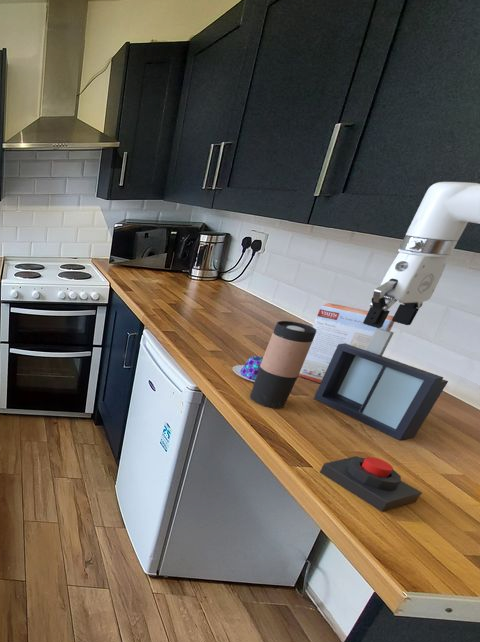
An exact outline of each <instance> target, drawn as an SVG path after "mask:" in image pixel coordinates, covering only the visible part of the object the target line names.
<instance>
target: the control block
mask: <svg viewBox="0 0 480 642" xmlns="http://www.w3.org/2000/svg"><path fill="white" fill-rule="evenodd" d="M365 458H366V457H361V456H357V455H355V456H351V457H346V458H342V459H338V460H333V461H329V462H325V463H323V464H322V467H321V469H320V470H319V474H321V475H323V476H324V477H326V478H328V479H329V480H331V481H332V482H333V483H334V484H337V485H338V486H339V487H342V488H343V489H344V490H346V491H347V492H350V493H351V494H353V495H354V496H356V497H357V498H359V499H360V500H362V501H364V502H365V503H366V504H369V505H370V506H372V507H373V508H375V509H376V510H378V511H380V512H381V513H383V512H386V511H389V510H393V509H396V508H400V507H403V506H406V505H410V504H413V503H416V502H417V501H418V500H419V498H420V496H421V495H422V494H423V492H422V491H421V490H419V489H418V488H415V487H413V486H412V485H410V484H409V483H406V482H404V481H403V480H402V477H401V475H400V474H399V472H397V471H396V470H394V469H393V470H392V472H391V473H390V475H389V477H387V478H385V477H379V476H377V475H374V474H371V473H370V472H368V471H366V470H364V469H363V468H362V467H361V465H362V464H363V462H364V460H365Z"/></svg>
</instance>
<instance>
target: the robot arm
mask: <svg viewBox="0 0 480 642" xmlns="http://www.w3.org/2000/svg"><path fill="white" fill-rule="evenodd" d="M468 223H473V224H480V183H478V182H467V181H465V182H464V181H439V182H435V183H433V184H432V185H430V186H429V187H428V189H427V190H426V192H425V194H424V196H423V198H422V200H421V202H420V204H419V206H418V208H417V211H416V212H415V214H414V216H413V219H412V220H411V223H410V225H409V227H408V228H407V231H406V233H405V236H404V237H403V239H402V241H401V243H400V245H399V248H398V250H397V251H398V254H397V255H396V256H395V259H394V260H393V261H392V263H391V265H390V266H389V268H388V270H387V271H386V273H385V275H384V277H383V279H382V281H381V282H380V285H379V286H378V287H376V288H375V289H374V290H373V296H372V298H371V303H370V305H369V310H367V311H368V313H367V316H366V318H365V320H364V322H363V323H364V324H366V325H369V326H372V327H376V328H381V327H382V326H383V324H384V322H385V320H386V318H387V316H388V315H389V314H390V312H391V311H390V310H389V309H390V308H391V307H392V306H393V305H394V304H396V302H398V303H400V304H399V305H398V307H397V309H396V311H395V313H394V315H393V316H394V317H393V319H392V321H394V323H397V324H400V325H405V326H410V325H412V323H413V321H414V320H415V318H416V316H417V314H418V312H419V311H420V309H421V308H422V306H423V304H424V303H423V302H427V301H429V300H430V299H431V298H432V296H433V294H434V292H435V290H436V288H437V286H438V284H439V281H440V280H441V277H442V275H443V272H444V270H445V268H446V264H447V262H448V258H450V256H451V254H452V253H453V251H454V249H455V247H456V246H457V243H458V242H459V240H460V238H461V236H462V235H463V232H464V231H465V229H466V227H467V225H468Z"/></svg>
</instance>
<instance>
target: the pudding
mask: <svg viewBox="0 0 480 642" xmlns="http://www.w3.org/2000/svg"><path fill="white" fill-rule="evenodd" d="M263 357H264V356H258V355H255V356H250V357H249V358H248V359H247V360H246V362H245V364H237V365H234V366H233V367H232V371H233V372H234V373H235V374H236V375H237V376H239V377H241V378H242V379H245V380H247V381H250V382H253V383H254V382H255V379H256V376H257V373H258V370H259V367H260V364H261V362H262V359H263Z"/></svg>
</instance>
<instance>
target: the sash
mask: <svg viewBox="0 0 480 642" xmlns="http://www.w3.org/2000/svg"><path fill="white" fill-rule="evenodd" d="M394 334H395V332H394V331H391V330H390V331H387V330H384V329H380V328H376V330H375V332H374V334H373V336H372V338H371V340H370V343H369V345H368V347H367V349H366V351H369V352H372V353H375V354H378V355H380V356H383V355H384V353H385V351H386V349H387V347H388V345H389V343H390V341H391V340H392V337H393V335H394ZM382 366H383V365H380V364H377V363H375V362H372V361H369V360H366V359H364V358H361V357H358V356H355V355H353V354H351V356H350V358H349V360H348V362H347V364H346V367H345V369H344V371H343V373H342V375H341V377H340V379H339V381H338V383H337V386H336V388H335V390H334V392H333V394H332V395H334V396H336V397H338V398H341V399H343V400H345V401H347V402H349V403H351V404H354V405H356V406H358V407H360V408H361V407H362V405H363V403H364V401H365V399H366V397H367V395H368V393H369V391H370V389H371V387H372V386H373V384H374V382H375V380H376V378H377V376H378V374H379V372H380V370H381V368H382Z"/></svg>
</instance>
